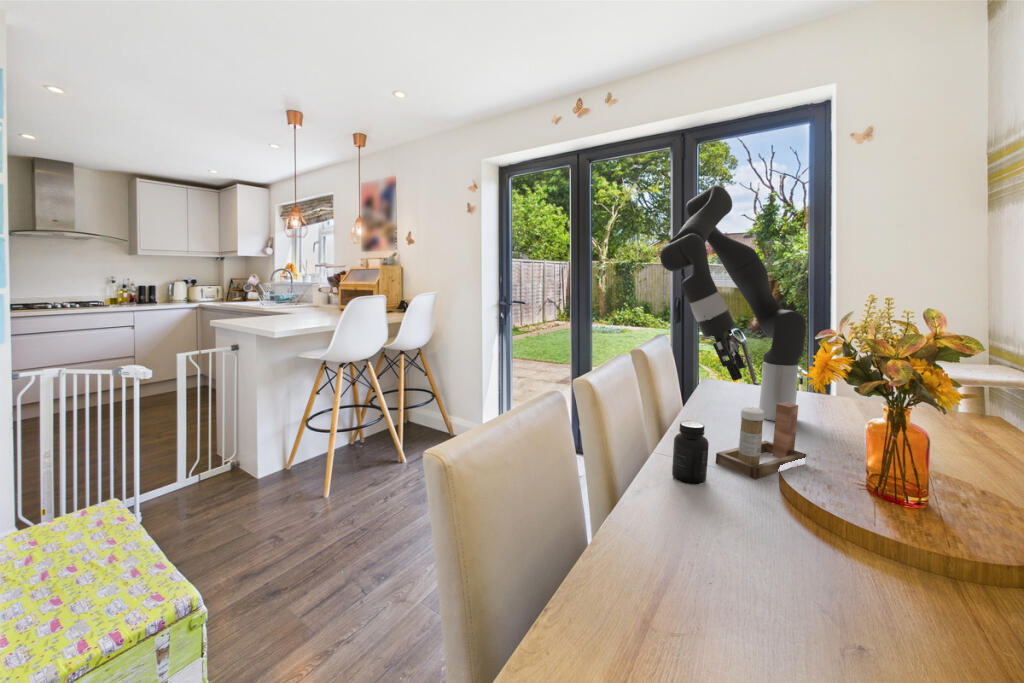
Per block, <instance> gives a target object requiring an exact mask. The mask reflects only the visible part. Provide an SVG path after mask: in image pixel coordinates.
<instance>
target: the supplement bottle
mask: <svg viewBox="0 0 1024 683" xmlns="http://www.w3.org/2000/svg"><path fill="white" fill-rule="evenodd" d="M705 428H706V427H705V425H704V423H702V422H699V421H694V420H683V421H680V423H679V429H678V430H679V431H678V432H679V433H677V434H676V435H675V436H674V437H673V446H672V447H673V448H672V449H673V450H672V451H673V452H672V465H671V467H672V468H671V476H672V478H674V479H675V480H676V481H678V482H679V483H683V484H687V485H694V486H695V485H696V486H697V485H702V484H703V483H705V482H706V481H707V473H708V461H709V460H708V459H709V446H710V445H709V443H710V442H709V440H708V438H707V437H705V436H704V435H705Z"/></svg>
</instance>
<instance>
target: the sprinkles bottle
mask: <svg viewBox="0 0 1024 683" xmlns="http://www.w3.org/2000/svg"><path fill="white" fill-rule="evenodd" d="M740 410H741V412H740V417H741V421H740V433H739V439H738V440H739V442H738V444H739V445H738V447H739V457H738V459H739V460H741V461H744V462H746V463H749V464H751V465H754V466H755V465H759V464H760V463H761V462H760V461H761V460H760V458H761V443H762V441H763V440H762V439H763V425H764V424H763V422H764V420H765V419H764V411H763V410H761V409H759V408H758V407H757V408H755V407H747V406H746V407H742V408H741V409H740Z"/></svg>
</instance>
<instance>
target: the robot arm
mask: <svg viewBox="0 0 1024 683" xmlns="http://www.w3.org/2000/svg"><path fill="white" fill-rule="evenodd" d="M685 209H686V213H687V215H688V217H689V219H687V221H686V222H685V223H684V224H683V226H682V227H681V228H680V230H679V232H678V233H677V234H676V235H674V236H673V237H672V238H671V239H670V240H669V241H668V242H666V243H665V244H664V245H663V247H662V248H661V250H660V256H659V258H660V262H661V265H662V267H663V268H664V269H666V270H667V271H669V272H678V271H681V270H683V269H685V268H688V267H690V266H692V265H693V271H692V273H691V275H688V277H686V278H684V279H683V280H682V281H681V288H682V291H683V293H684V295H685V297H686V299H687V301H688V303H689V305H690V309H691V313H692V314H693V317H694V319H695V320H696V323H697V325H698V328H699V329H700V331H701V334H702V336H703V337H704V338H710V337H713V338H714V341H715V342H713V343H712V345H713V348H714V350H715V353H716V354H717V357H718V358H719V361H720V363H721V366H722V367H723V368H726V370H727V372H728V374H729V375H730V377H731V379H732V381H734V382H735V381H739V380H741V379H742V378H743V374H742V372H741V369H744V368H745V366H746V365H745V362H744V360H743V358H742V355H741V354H740V345H739V344H738V342H737V340H736V338H735V336H734V334H733V332H732V329H733V327H735V322H734V319H733V317H732V315H731V313H730V311H729V309H728V306H727V304H726V302H725V300H724V298H723V297H722V295H721V294H720V292H719V290H718V287H717V286H716V283H715V281H714V278H713V277H712V275H711V271H710V270H711V269H710V266H709V259H708V252H707V251H708V250H707V245H706V242H707V243H708V244H709V246H710V247H711V248H712V249H713V251H714V253H715V254H716V256H717V258H718V260H719V261H720V262H721V264H722V266H723V267H724V269H725V271H726V272H727V274H728V275H729V277H730V279H731V280H732V282H733V283H734V285H735V286H736V287H737V289H738V290H739V292H740V294H741V295H742V296H743V298H744V300H745V301H746V302H747V304H748V305H749V307H750V308H751V311H752V312H753V315H754V317H755V319H756V321H757V323H758V325H759V327H760V329H761V330H762V332H763V334H764V335H766V337H769V338H770V339H771V341H772V342H771V347H770V349H769V350H767V351H765V352H764V353H763V355H762V356H763V358H762V368H761V369H762V370H761V371H762V372H761V383H760V394H759V395H760V397H759V405H758V409H761V410H763V411H764V420H767V421H772V422H775V417H776V405H777V403H782V402H787V403H791V404H795V405H797V395H798V388H797V384H798V373H799V371H798V370H799V361H800V359H801V357H802V355H803V353H804V345H805V342H806V341H805V340H806V333H807V324H806V323H807V322H806V320H805V317H804V316H803V314H802V313H801V312H800V313H799V311H795V310H790V309H784V308H783V307H782V306H781V305H780V304H779V301H778V300H776V299H777V298H775V297H774V295H773V293H772V290H771V287H770V278H769V274H768V270H767V267H766V266H765V263H764V262H763V260H762V259H761V257H760V256H759V255H758V252H756V250H755V248H753V247H751V246H749V245H748V244H746V243H743V242H741V241H739V240H736V239H734V238H731V237H730V236H728V235H726V234H724V232H722V231H721V230H720V229H719V228H718V227H717V226H718V224H719V223H720V222H721V220H723V218H725V217H726V216H727V215H729V214H730V212H731V211H732V209H733V200H732V197H731V195H730V193H729V192H728V191H727V189H726V188H725V187H723V186H722V185H714V186H710V187H709V188H707V189H706V190H704V191H702V192H701V193H699V194H698V195H696V196H694V197H693V198H691V199H690V200H688V201H687V203H686V206H685ZM727 358H728V359H727Z"/></svg>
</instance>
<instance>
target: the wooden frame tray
mask: <svg viewBox="0 0 1024 683" xmlns="http://www.w3.org/2000/svg"><path fill="white" fill-rule="evenodd" d="M798 414H799V404H796V405H795V404H791V403H787V402H782V403H777V405H776V417H775V421H774V431H773V441H772V442H771V441H768V440H762V443H761V454H765V453H767V454H770V455H771V456H772V457H774V458H777V459H773V460H769V461H767V462H763V463H759V465H755V466H754V465H751V464H749V463H746V462H744V461H741V460H739V459H738V457H739V446H738V447H735V448H730V449H726V450H722V451H718V452H716V453H715V454H716V455H715V464H717V465H720V466H722V467H725V468H727V469H729V470H731V471H734V472H736V473H739V474H741V475H743V476H745V477H748V478H750V479H753V480H758V479H759V480H760V479H762V478H764V477H768V476H771V475H774V474H778V473H779V472H778V469H779V467H780V465H783V464H785V463H788V462H792V461H795V460H798V459H802V458H805V457H806V458H807V454H806V453H804V452H801V451H798V450H795V447H796V446H795V444H796V437H797V434H796V433H797V427H798V425H797V424H798V416H799V415H798ZM761 454H760V455H761Z"/></svg>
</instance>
